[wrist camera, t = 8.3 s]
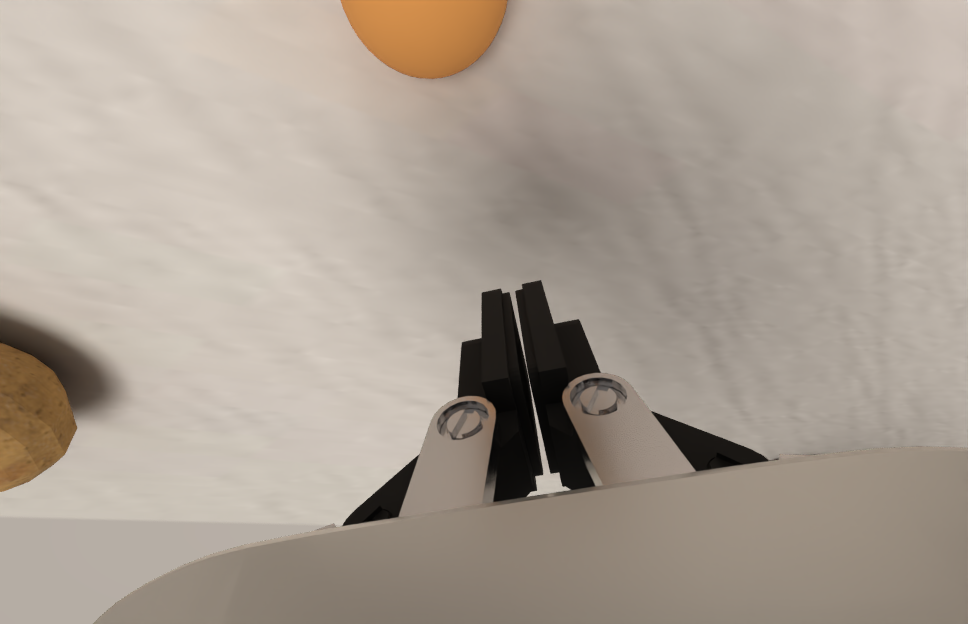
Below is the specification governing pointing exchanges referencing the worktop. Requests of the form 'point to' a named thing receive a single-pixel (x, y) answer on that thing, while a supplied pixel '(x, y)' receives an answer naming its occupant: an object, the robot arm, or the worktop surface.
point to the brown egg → (426, 32)
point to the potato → (30, 418)
